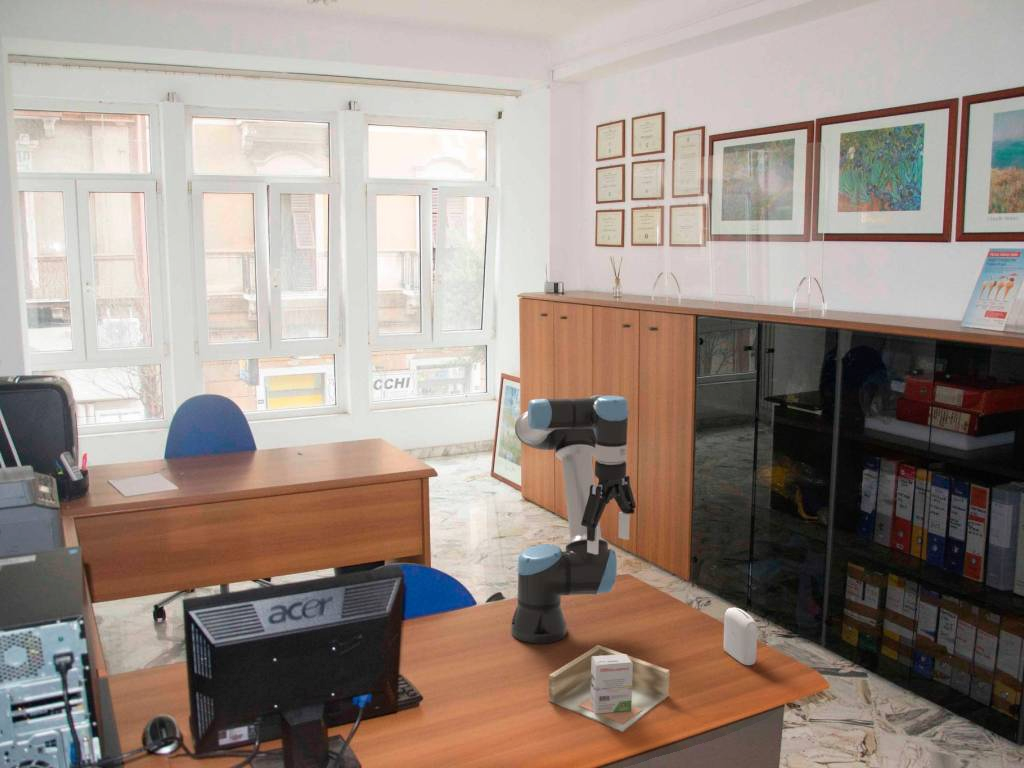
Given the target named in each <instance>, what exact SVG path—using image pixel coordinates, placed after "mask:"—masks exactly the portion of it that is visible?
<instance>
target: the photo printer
mask: <svg viewBox="0 0 1024 768" xmlns="http://www.w3.org/2000/svg"><path fill="white" fill-rule="evenodd" d="M723 620H724V622H723V623H724V624H723V650H724V651H725V652H726V653H727V654H729V655H730V656H731V657H733V658H734V659H735V660H736V661H738V662H739V663H740V664H742V665H745V666H752V665H754V664H755V663H756V662H757V661H756V660H757V645H758V644H757V642H758V624H757V622H756V621H755V620H754V618H753V617H752V616H751V615H750V614H749V613H747V612H746V611H745V610H743V609H741V608H739V607H729V608H727V609H726V611H725V614H724V619H723Z"/></svg>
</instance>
